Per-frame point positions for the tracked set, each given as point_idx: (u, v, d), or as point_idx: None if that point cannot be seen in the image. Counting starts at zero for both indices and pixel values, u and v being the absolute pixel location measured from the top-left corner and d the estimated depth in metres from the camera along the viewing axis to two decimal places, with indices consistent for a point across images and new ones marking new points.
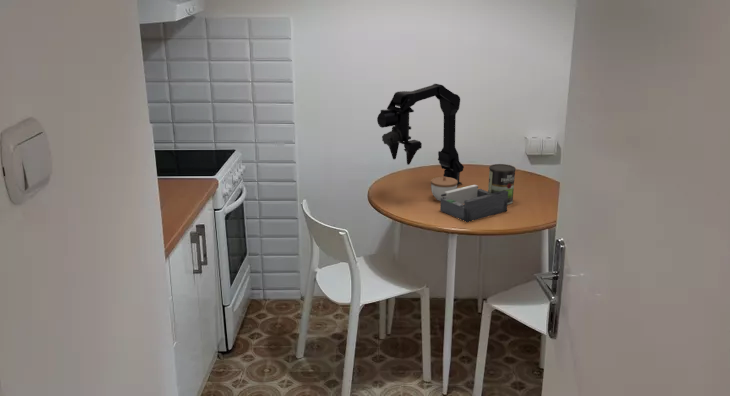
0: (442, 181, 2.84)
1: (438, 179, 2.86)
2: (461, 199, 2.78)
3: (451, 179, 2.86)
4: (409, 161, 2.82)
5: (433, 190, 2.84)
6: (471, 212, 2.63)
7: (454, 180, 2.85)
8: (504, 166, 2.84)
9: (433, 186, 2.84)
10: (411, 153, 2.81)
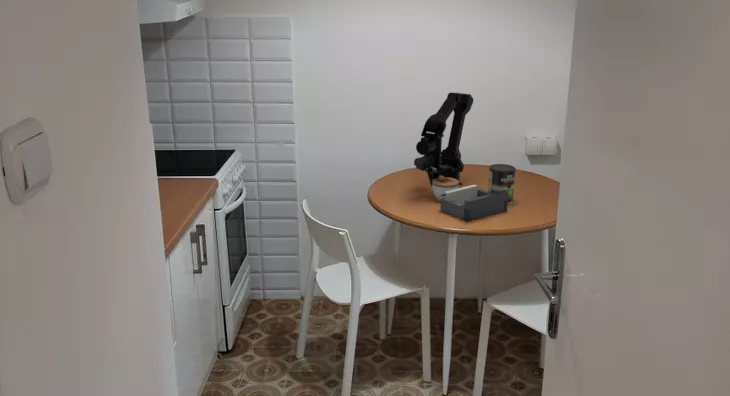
0: (443, 181, 2.83)
1: (439, 180, 2.85)
2: (461, 199, 2.78)
3: (452, 179, 2.86)
4: None
5: (434, 190, 2.84)
6: (471, 212, 2.63)
7: (455, 180, 2.85)
8: (504, 166, 2.84)
9: (434, 186, 2.83)
10: (436, 175, 2.90)
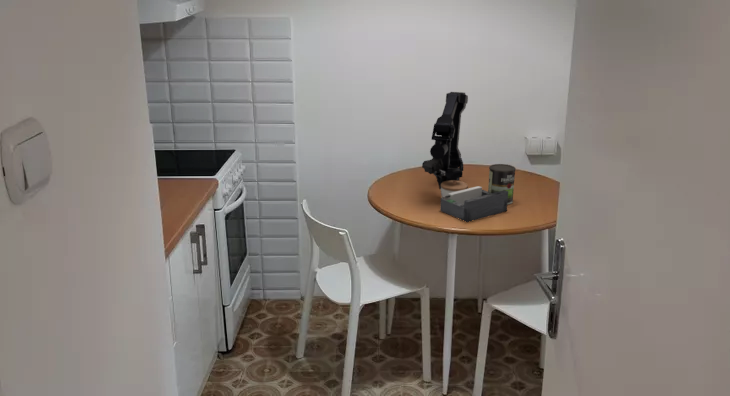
0: (452, 185, 2.79)
1: (448, 183, 2.81)
2: None
3: (461, 183, 2.82)
4: None
5: (443, 194, 2.80)
6: (471, 212, 2.63)
7: (464, 184, 2.81)
8: (504, 166, 2.84)
9: (443, 190, 2.79)
10: (444, 178, 2.86)
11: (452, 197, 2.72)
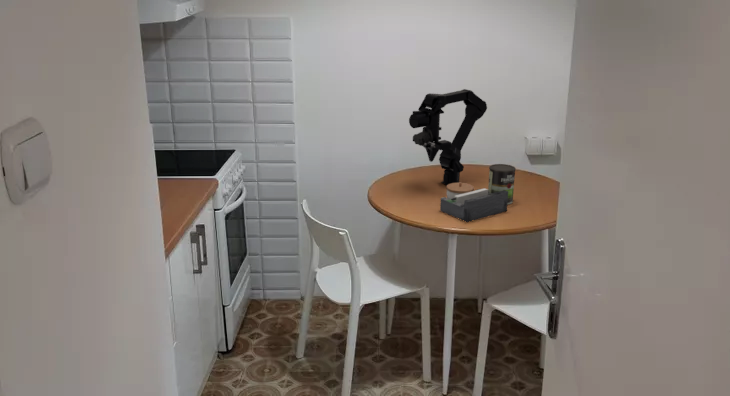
0: (458, 187, 2.77)
1: (454, 185, 2.79)
2: None
3: (467, 185, 2.79)
4: (432, 158, 2.95)
5: (449, 196, 2.77)
6: (471, 212, 2.63)
7: (470, 186, 2.78)
8: (504, 166, 2.84)
9: (449, 192, 2.76)
10: (434, 150, 2.94)
11: (458, 199, 2.69)
